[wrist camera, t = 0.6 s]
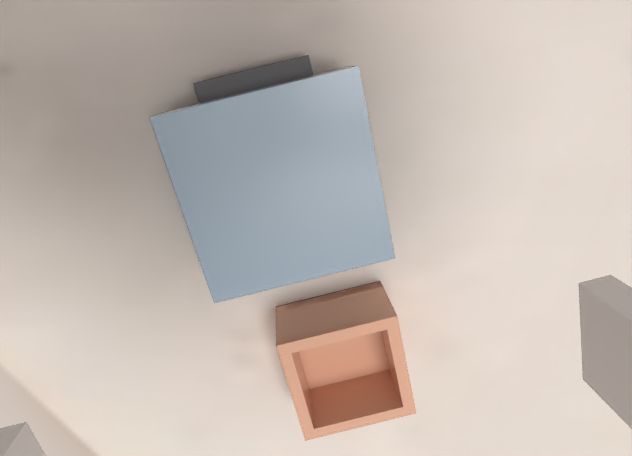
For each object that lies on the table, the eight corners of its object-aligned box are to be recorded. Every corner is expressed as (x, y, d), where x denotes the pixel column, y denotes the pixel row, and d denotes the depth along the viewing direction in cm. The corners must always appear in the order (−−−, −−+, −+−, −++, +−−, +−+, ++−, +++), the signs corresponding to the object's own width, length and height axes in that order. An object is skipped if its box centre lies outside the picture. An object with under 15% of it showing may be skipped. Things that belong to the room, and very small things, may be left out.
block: (199, 82, 25) (193, 83, 24) (305, 55, 25) (308, 54, 24) (258, 275, 29) (257, 289, 28) (350, 252, 29) (355, 265, 28)
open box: (276, 306, 30) (276, 346, 26) (380, 281, 30) (397, 315, 26) (301, 392, 33) (305, 440, 28) (398, 368, 33) (416, 413, 28)
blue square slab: (161, 112, 24) (149, 117, 22) (350, 65, 24) (358, 65, 21) (219, 282, 27) (214, 303, 25) (385, 241, 27) (395, 258, 25)
